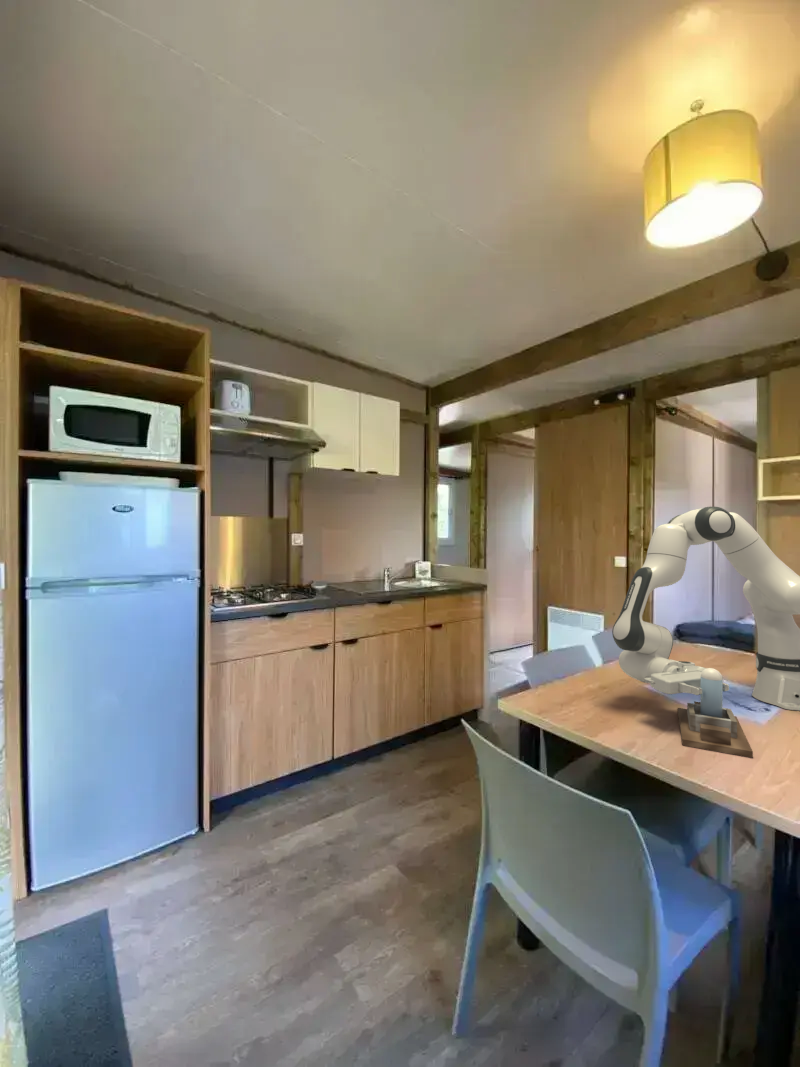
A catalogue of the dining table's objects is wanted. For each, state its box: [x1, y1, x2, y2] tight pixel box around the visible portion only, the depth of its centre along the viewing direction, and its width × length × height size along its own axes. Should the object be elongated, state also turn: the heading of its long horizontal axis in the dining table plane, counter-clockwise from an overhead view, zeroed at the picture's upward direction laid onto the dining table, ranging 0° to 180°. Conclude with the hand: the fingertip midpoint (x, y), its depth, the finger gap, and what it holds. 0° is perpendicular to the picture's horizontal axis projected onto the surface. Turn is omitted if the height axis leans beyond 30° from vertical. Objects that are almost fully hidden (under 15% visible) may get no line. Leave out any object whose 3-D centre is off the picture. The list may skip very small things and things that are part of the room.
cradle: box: [677, 701, 754, 759], centre depth 121 cm, size 14×24×6 cm, turn 151°
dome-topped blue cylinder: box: [699, 667, 724, 718], centre depth 121 cm, size 5×5×15 cm
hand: (713, 690), depth 121 cm, fingers open, 8 cm apart
